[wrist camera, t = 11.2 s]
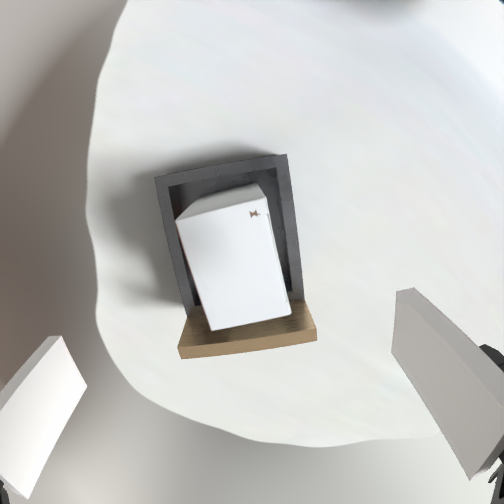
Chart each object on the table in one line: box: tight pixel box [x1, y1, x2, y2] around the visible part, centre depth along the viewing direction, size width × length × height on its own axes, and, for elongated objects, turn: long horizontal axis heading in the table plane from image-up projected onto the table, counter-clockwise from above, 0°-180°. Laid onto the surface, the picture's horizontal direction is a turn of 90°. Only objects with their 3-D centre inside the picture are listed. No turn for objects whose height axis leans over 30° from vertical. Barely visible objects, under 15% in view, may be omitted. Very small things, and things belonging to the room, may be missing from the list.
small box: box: [175, 183, 291, 331], centre depth 23 cm, size 8×6×10 cm
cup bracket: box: [155, 154, 317, 359], centre depth 25 cm, size 11×14×9 cm
